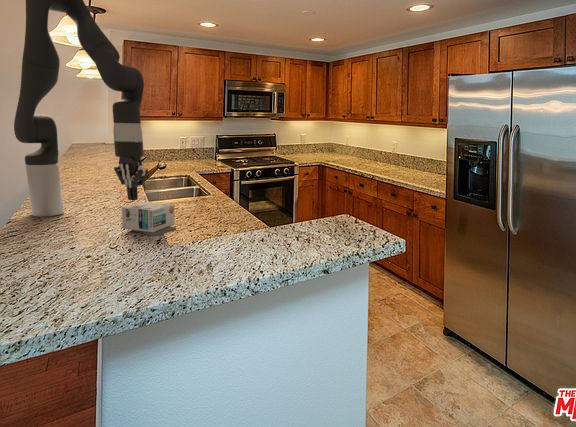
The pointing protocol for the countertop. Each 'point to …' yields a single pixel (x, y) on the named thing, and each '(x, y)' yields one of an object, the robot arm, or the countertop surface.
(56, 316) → the countertop surface
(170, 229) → the plate
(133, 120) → the robot arm
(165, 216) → the light bulb box
